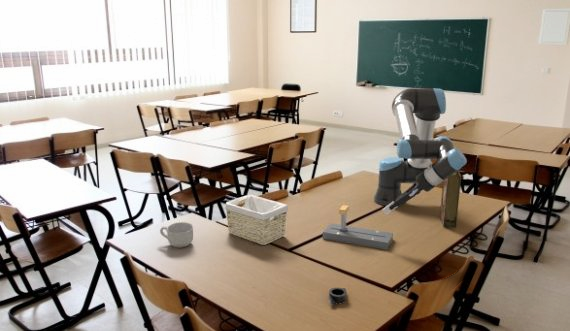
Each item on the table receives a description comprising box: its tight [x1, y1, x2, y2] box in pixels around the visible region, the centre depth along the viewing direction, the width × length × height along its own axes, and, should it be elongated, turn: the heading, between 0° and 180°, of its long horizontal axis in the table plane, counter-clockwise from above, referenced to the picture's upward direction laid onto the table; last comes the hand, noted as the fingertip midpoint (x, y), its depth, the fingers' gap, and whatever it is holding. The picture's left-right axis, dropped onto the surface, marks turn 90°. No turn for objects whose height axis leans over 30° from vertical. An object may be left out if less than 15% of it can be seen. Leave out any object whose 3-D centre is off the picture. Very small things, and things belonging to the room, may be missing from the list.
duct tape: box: [328, 287, 348, 306], centre depth 157 cm, size 8×10×3 cm
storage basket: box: [224, 194, 289, 246], centre depth 207 cm, size 24×16×15 cm
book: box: [439, 170, 462, 229], centre depth 221 cm, size 16×6×25 cm, turn 168°
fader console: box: [322, 223, 394, 250], centre depth 204 cm, size 28×11×3 cm, turn 67°
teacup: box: [159, 221, 194, 249], centre depth 198 cm, size 14×11×8 cm
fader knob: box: [338, 204, 350, 231], centre depth 205 cm, size 3×6×10 cm, turn 157°
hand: (384, 212), depth 197 cm, fingers closed
